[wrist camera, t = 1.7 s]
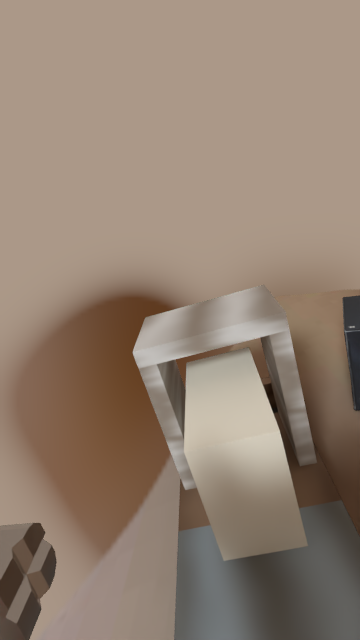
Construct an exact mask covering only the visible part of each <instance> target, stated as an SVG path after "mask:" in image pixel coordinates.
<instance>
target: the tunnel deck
mask: <svg viewBox="0 0 360 640" xmlns="http://www.w3.org/2000/svg"><path fill="white" fill-rule="evenodd" d="M256 338H261V342H262V347H263V351H264V355H265V359H266V363H267V367H268V371H269V376H270V377H266V378H262V379H261V382H262V384H263V387H264V390H265V392H266V395H267V398H268V400H269V403H270V406H271V408H272V411H273V414H274V417H275V419H276V422H277V425H278V427H279V430H280V434H281V438H282V442H283V446H284V450H285V454H286V458H287V462H288V466H289V470H290V474H291V478H292V482H293V487H294V491H295V495H296V499H297V503H298V507H299V511H300V515H301V519H302V523H303V527H304V531H305V535H306V540H307V544H308V546H306V547H300V548H295V549H289V550H283V551H278V552H272V553H266V554H261V555H255V556H249V557H244V558H238V559H232V560H226V561H224V560H223V557H222V555H221V552H220V549H219V546H218V544H217V541H216V538H215V536H214V533H213V530H212V527H211V525H210V522H209V519H208V516H207V514H206V511H205V508H204V506H203V503H202V500H201V497H200V495H199V492H198V489H197V486H196V484H195V481H194V478H193V476H192V473H191V470H190V467H189V465H188V462H187V459H186V456H185V454H184V431H185V397H186V390H185V387H184V384H183V381H182V378H181V375H180V373H179V369H178V366H177V363H176V361H175V359H178V358H182V357H186V356H190V355H194V354H198V353H202V352H206V351H209V350H213V349H217V348H221V347H224V346H228V345H233V344H237V343H240V342H244V341H248V340H252V339H256ZM133 355H134V357H135V360H136V363H137V365H138V368H139V370H140V373H141V376H142V378H143V381H144V384H145V386H146V388H147V391H148V394H149V397H150V399H151V402H152V404H153V407H154V410H155V412H156V415H157V418H158V420H159V423H160V425H161V428H162V431H163V433H164V436H165V438H166V441H167V444H168V446H169V449H170V452H171V454H172V457H173V459H174V462H175V465H176V467H177V470H178V473H179V475H180V478H181V479H180V505H179V531H178V557H177V583H176V609H175V634H174V640H360V536H359V534H358V532H357V530H356V528H355V526H354V524H353V522H352V520H351V518H350V516H349V514H348V512H347V510H346V508H345V506H344V504H343V502H342V500H341V498H340V495H339V493H338V491H337V489H336V487H335V485H334V483H333V481H332V479H331V477H330V475H329V473H328V471H327V469H326V467H325V465H324V463H323V461H322V459H321V457H320V455H319V453H318V451H317V449H316V447H315V444H314V442H313V440H312V436H311V431H310V426H309V422H308V417H307V412H306V407H305V402H304V398H303V393H302V388H301V383H300V379H299V374H298V369H297V364H296V360H295V355H294V350H293V345H292V340H291V336H290V331H289V326H288V321H287V317H286V312H285V310H284V309H283V308H282V307H281V305H280V304H279V303H278V302H277V300H276V299H275V298H274V297H273V296H272V294H271V293H270V292H269V290H268V289H267V288H266V287H265V285H261V286H258V287H254V288H250V289H247V290H243V291H240V292H236V293H232V294H229V295H226V296H222V297H218V298H214V299H211V300H207V301H204V302H200V303H196V304H193V305H189V306H186V307H182V308H178V309H175V310H171V311H168V312H164V313H161V314H157V315H153V316H150V317H146V318H145V320H144V323H143V326H142V328H141V331H140V333H139V336H138V339H137V342H136V345H135V347H134V350H133Z"/></svg>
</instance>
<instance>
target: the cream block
mask: <svg viewBox="0 0 360 640" xmlns="http://www.w3.org/2000/svg"><path fill="white" fill-rule="evenodd" d="M184 454H185V456H186V459H187V462H188V465H189V467H190V470H191V473H192V476H193V478H194V481H195V484H196V486H197V489H198V492H199V495H200V497H201V500H202V503H203V506H204V508H205V511H206V514H207V516H208V519H209V522H210V525H211V527H212V530H213V533H214V536H215V538H216V541H217V544H218V546H219V549H220V552H221V555H222V557H223V560H224V561H226V560H232V559H238V558H244V557H249V556H255V555H261V554H266V553H272V552H278V551H283V550H289V549H295V548H300V547H306V546H308V544H307V540H306V535H305V531H304V527H303V523H302V519H301V515H300V511H299V507H298V503H297V499H296V495H295V491H294V487H293V482H292V478H291V474H290V470H289V466H288V462H287V458H286V454H285V450H284V446H283V442H282V438H281V434H280V430H279V427H278V425H277V422H276V419H275V417H274V414H273V411H272V408H271V406H270V403H269V400H268V398H267V395H266V392H265V390H264V387H263V384H262V382H261V379H260V376H259V374H258V371H257V368H256V365H255V363H254V360H253V357H252V355H251V352H250V349H249V347H247V348H243V349H239V350H235V351H231V352H227V353H224V354H220V355H216V356H212V357H208V358H204V359H200V360H196V361H192V362H188V363H187V365H186V397H185V431H184Z"/></svg>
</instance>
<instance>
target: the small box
mask: <svg viewBox="0 0 360 640" xmlns="http://www.w3.org/2000/svg"><path fill="white" fill-rule="evenodd" d="M343 318H344V335H345V342H346V349H347V356H348V363H349V370H350V377H351V385H352V394H353V402H354V410H360V296H352V297H343Z"/></svg>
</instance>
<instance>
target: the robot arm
mask: <svg viewBox="0 0 360 640" xmlns="http://www.w3.org/2000/svg"><path fill="white" fill-rule="evenodd" d="M44 535H45V531H44V529H43V527H42V526H41V524H40V523H27V524H15V525H3V526H0V640H29V639H30V636H31V634H32V631H33V629H34V626H35V624H36V621H37V619H38V616H39V614H40V611H41V604H40V598H41V597H42V596H43V595H44V594H45V593H46V592H47V591H48V590H49V588H50V586H51V584H52V581H53V578H54V575H55V568H56V556H55V551H54V549H53V547H52V545H51V544H50V543H48V542H47V541H45V540H44V539H43V538H44Z"/></svg>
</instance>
